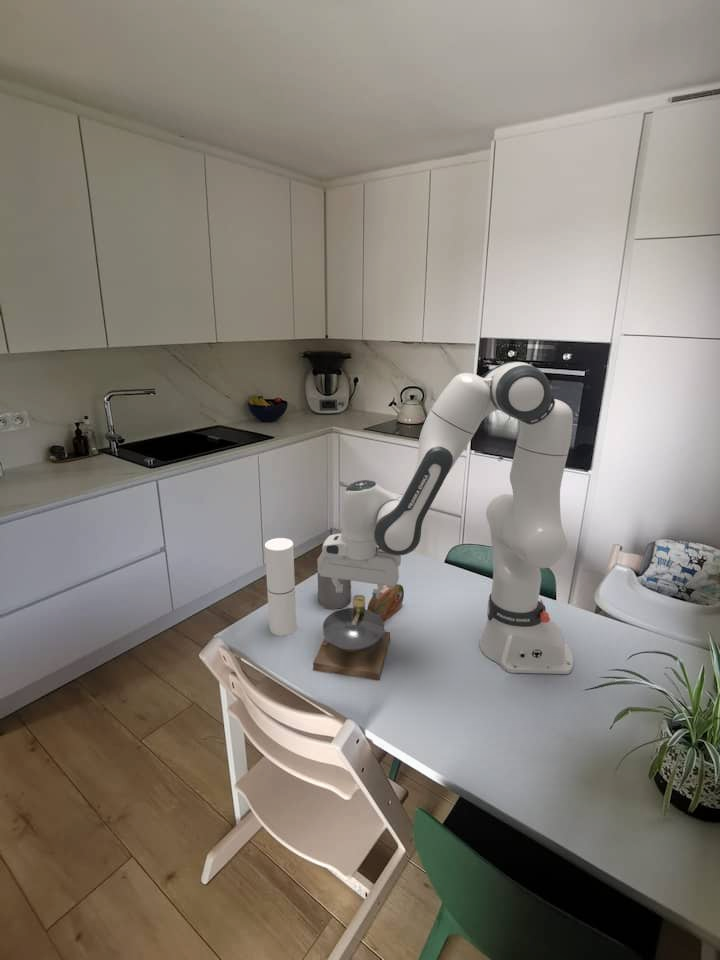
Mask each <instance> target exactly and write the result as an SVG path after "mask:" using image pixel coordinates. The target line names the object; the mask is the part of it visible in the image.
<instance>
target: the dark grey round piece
mask: <svg viewBox="0 0 720 960" xmlns="http://www.w3.org/2000/svg"><path fill="white" fill-rule="evenodd" d="M352 605H353V606H352V607H348V608H340V609H339V610H336V611H334V612H332V613H330V614H329V615H328V616H327V617H326V618H325V619H324V621H323V624H322V635H323V638H324V639H325V640H326V642H327V643H328V644H329V645H331V646H332V647H334V648H336V649H339V650H342V651H347V652H360V651H365V650H369V649H371V648H373V647H375V646H377V645H378V644H379V643H380V642H381V641H382V639H383V637H384V631H385V622H383V620H382V619H381V618H380V617H379V616H378V615H377V614H376V613H374V612H372V611H369V610H367V608H366V596H364V594H363V595H362V594H356V595H354V596H353V599H352ZM324 639H323V640H324Z"/></svg>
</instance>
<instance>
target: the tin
mask: <svg viewBox="0 0 720 960" xmlns="http://www.w3.org/2000/svg"><path fill="white" fill-rule="evenodd" d="M404 592H405V591H404V587H403V585H402V584H398V583H397V584H396V585H395V586H386V585H384V586H383V589H382V590H381V591H380V592H379V598H378V599H376V598H372V597H371V599H370V600H369V602H368V605H367V608H366V610H369V611H372V612H374V613H376V614H377V615H378V616H379V617H380V618H381V619H382V620H383V622H384V623H385V622H386V621H387V620H389V619H390V618H391V617H392V616H393V615H395V614H396V613H397V612H398V611H399V610H400V609H401V606H402V604H403V601H404V595H405V593H404Z"/></svg>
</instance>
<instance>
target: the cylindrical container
mask: <svg viewBox="0 0 720 960" xmlns="http://www.w3.org/2000/svg"><path fill="white" fill-rule="evenodd" d="M264 554H265V572H266V588H267V589H266V590H267V591H266V592H267V593H266V594H267V604H268V605H267V607H268V622H269V623H268V624H269V625H268V626H269V632H270V633H271V634H272V635H274V636H278V637H279V636H280V637H283V636H288V635H291V634H293V633H295V631H296V630H297V611H296V609H297V608H296V585H295V584H296V583H295V581H296V580H295V561H294V560H295V559H294V558H295V557H294V555H295V554H294V542H293V540H291V539H289V538H285V537H276V538H272V539H269V540H267V541H265V543H264Z"/></svg>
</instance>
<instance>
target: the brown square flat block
mask: <svg viewBox="0 0 720 960" xmlns="http://www.w3.org/2000/svg"><path fill="white" fill-rule="evenodd" d="M390 640H391V631H385V630H384V637H383V639H382V641H381V642H380V643H379V644H378V645H377V646H375V647H373V648H371V649H369V650H365V651H360V652H347V651H342V650H339V649H336V648H334V647H332V646H331V645H329V644H328V643H327V642H326V640H325V639H323V641H322V642H321V645H320V647H319V649H318V651H317V654H316V655H315V658H314V660H313V662H312V665H313V667H312V668H313V669H312V670H313V671H318V672H319V671H320V672H325V673H331V674H338V675H344V676H348V677H349V676H350V677H356V678H361V679H362V678H363V679H368V680H374V681H380V678H381V675H382V671H383V668H384V667H383V666H384V663H385V660H386V655H387V653H388V652H387V651H388V647H389V644H390Z"/></svg>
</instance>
